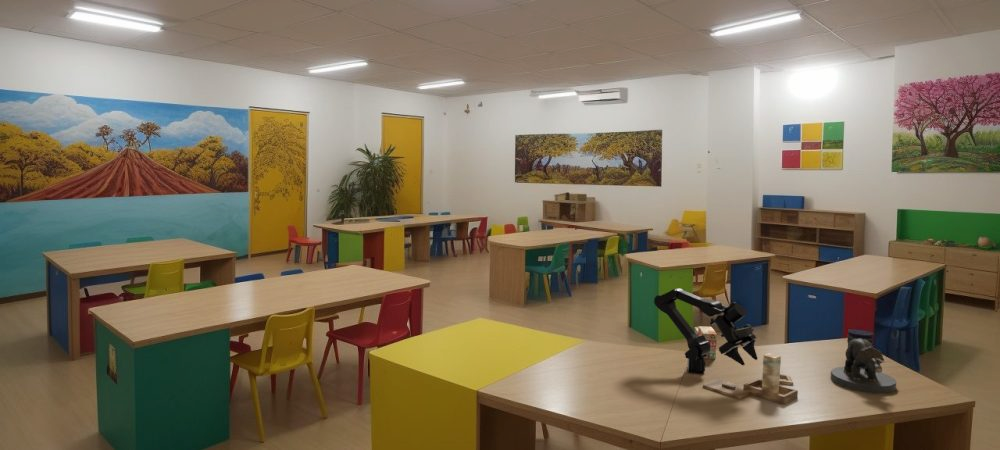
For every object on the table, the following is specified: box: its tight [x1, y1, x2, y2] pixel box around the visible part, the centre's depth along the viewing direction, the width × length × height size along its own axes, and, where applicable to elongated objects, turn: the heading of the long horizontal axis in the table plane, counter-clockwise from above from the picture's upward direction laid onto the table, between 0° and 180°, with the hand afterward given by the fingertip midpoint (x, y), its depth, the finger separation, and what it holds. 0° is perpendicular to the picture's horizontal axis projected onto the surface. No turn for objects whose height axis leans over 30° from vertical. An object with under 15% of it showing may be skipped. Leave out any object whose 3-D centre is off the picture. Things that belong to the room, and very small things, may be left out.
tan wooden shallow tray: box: [742, 378, 799, 406], centre depth 232 cm, size 16×11×3 cm
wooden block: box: [761, 352, 782, 394], centre depth 231 cm, size 5×5×15 cm
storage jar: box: [845, 328, 874, 368], centre depth 268 cm, size 10×10×15 cm
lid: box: [702, 378, 752, 400], centre depth 236 cm, size 16×11×2 cm
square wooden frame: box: [779, 373, 794, 386], centre depth 248 cm, size 9×9×1 cm
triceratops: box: [830, 338, 897, 394], centre depth 245 cm, size 23×35×18 cm, turn 168°
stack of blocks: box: [693, 325, 718, 360], centre depth 284 cm, size 21×6×12 cm, turn 172°
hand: (750, 362), depth 238 cm, fingers open, 9 cm apart
